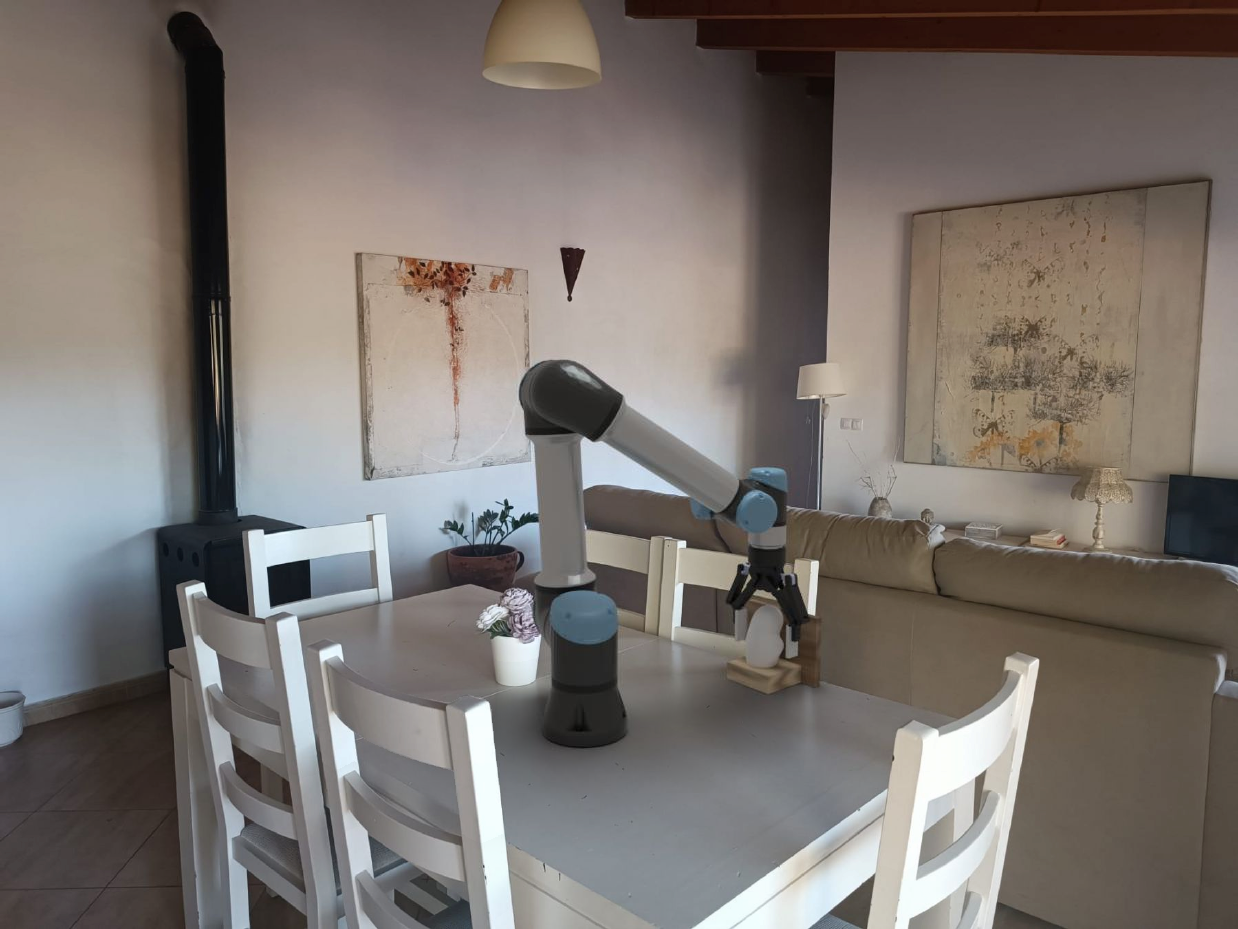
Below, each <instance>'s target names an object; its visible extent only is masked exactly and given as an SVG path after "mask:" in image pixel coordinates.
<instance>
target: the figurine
mask: <svg viewBox="0 0 1238 929" xmlns="http://www.w3.org/2000/svg"><path fill="white" fill-rule="evenodd" d="M782 626H783V615H782V613H781V611H780V610H779V609H778V608H777V607H775V606H773V605H764V606H761V607H760V608H759V609H758V610H756V612H755V613H754V615H753V617H752V620H751V622H750V626H749V629H748V628H747V631H746V639H745V640H744V642H745V644H744V649H745V650H744V652H745V656H746V661H747V664H748V665H750V666H753V667H757V668H770V667H774V666H775V665H776V664H777V662H778V659H779V656H780V654H781V652H782V650H783V647H784V643H783V641H782V639H781V638H780V631H781V628H782Z"/></svg>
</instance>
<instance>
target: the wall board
mask: <svg viewBox="0 0 1238 929" xmlns="http://www.w3.org/2000/svg"><path fill="white" fill-rule="evenodd" d="M747 604H748V605H747V607H748V609H747V615H748V616H747V617H748V618H747V630H748V629H749V626H750V622H751V620H752V617H753V615H754V613H755V612H756V610H758V609H759V608H760V607H761V606H764V605H773V606H775V607H777V608H778V609H779V610H780V611H781V613H782V615H783V626H782V628H781V631H780V638H781V639H782V641H783V643H784V647H783V650H782V652H781V654H780V656H779V659H778V662H777V664H776V665H775V666H774V667H770V668H757V667H753V666H750V665H748V664H747V661H746V655H745V656H743V657H739V658H736V659H733V660H730V661H727V663H726V679H727V680H729V681H732V682H734V683H738V684H740V685H743V686H746V687H748V688H751V689H753V690H756V691H759V692H762V693H764V694H767V695H770V694H773V693H775V692H778V691H782V690H783V689H786V688H790V687H792V686H795V685H797V683H798V684H805V685H807V686H810V687H814V688H817V687H820V684H821V653H822V652H821V650H822V648H821V647H822V644H821V643H822V617H821V616H818V615H814V614H809V613H808V615H809V618H810V622H809V623H806V624H803V625H801V639H800V641H798V656H795V657H792V658H786V625H789V624H790V623H789V621H788V620H787V618H786V616H785V614H784V612H783V611H782V609H781V607H780V605H777V604H773V603H771V602H770V603H769V602H766V601H761V600H759V599H755V598H750V599H749V600H748V601H747Z"/></svg>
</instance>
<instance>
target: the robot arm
mask: <svg viewBox="0 0 1238 929" xmlns="http://www.w3.org/2000/svg"><path fill="white" fill-rule="evenodd" d="M518 386H519V387H518V401H519V405H520V407H521V409H522V411H523V420H524V421H523V422H524V434H525V435H524V436H525V437H526V438H527V439H528V440H530V441H531V442H532V443H533V447H534V448H533V449H534V450H533V451H534V464H535V465H534V467H535V480H536V496H537V498H536V500H537V513H538V515H537V516H538V517H537V518H538V531H539V548H540V549H539V550H540V560H541V561H540V563H541V565H540V566H541V570H540V572H539V573H538V574H537V575H536V577H535V578H534V580H533V582H534V595H535V596H534V598H533V602H532V610H531V611H532V613H531V615H532V620H533V623H534V626H535V628H536V630H537V631H538V633H539V635H541V637H542V638H543V640H544V641H545V643H546V644H547V645H548V647H549V649H550V677H551V679H550V682H551V686H550V691H549V695H548V698H547V699H546V700H547V701H546V704H545V706H544V707H545V708H544V711H543V713H542V716H541V732H542V735H543V736H544V737H545V738H546V739H548V740H549V741H551V742H553V743H555V744H559V745H561V746H562V745H563V746H568V747H575V748H576V747H577V748H579V747H580V748H588V747H589V748H590V747H598V746H604V745H608V744H611V743H614V742H616V741H618V740H620V739H621V738H623V737H624V736H626V734H627V733H628V729H629V726H628V725H629V724H628V721H629V718H628V712H627V711H626V707H625V704H624V701H623V697H622V695H621V692H620V690H619V683H618V682H619V681H618V680H619V678H618V676H619V674H618V673H619V671H618V668H619V665H618V664H619V663H618V662H619V661H618V659H619V658H618V657H619V655H618V654H619V651H618V649H619V648H618V647H619V642H618V640H619V639H618V638H619V634H618V633H619V630H618V629H619V623H620V622H619V615H618V607H617V605H616V602H615V601H614V600H613V599H612V598H611V597H609V596H608V595H606V594H604V593H598V592H597V576H596V573H595V572H593V570H591V569H590V568H589V567H588V559H587V557H588V556H587V541H586V540H587V538H586V521H585V519H586V518H585V504H584V503H585V502H584V487H583V486H584V484H583V483H584V482H583V464H582V447H581V442H582V441H583V439H584V438H586V439H588V440H589V441H591V442H592V443H598V442H603V443H604V444H606V445H608V446H609V447H611V448H612V449H613V450H616V451H617V452H618V453H620V454H622V455H623V456H625V457H626V458H628V459H630V460H631V461H632V462H635V463H636V464H638V465H639V466H641V467H642V468H644V469H646V470H647V471H649V472H650V473H652V474H654V475H655V476H656V477H658V478H660V479H662V480H663V481H665V483H668V484H670V485H671V486H673V487H674V488H676V489H677V490H679V491H680V492H682V493H684V494H686V496H689V503H690V510H691V512H692V515H693V516H694V518H696V519H698V520H708V521H711V520H720V521H722V522H725V523H727V524H729V525H732V526H735V527H737V528H738V529H741V530H743V531H744V532H746V533H748V536H747V543H748V544H749V545H748V546H747V562H743V563H738V565H737V567H736V569H737V570H736V575H735V577H734V579H733V582H732V584H731V586H730V589H729V592H728V593H727V596H726V598H725V601H724V602H725V604H726V605H729V606H731V609H732V622H733V624H734V642H741V641H746V636H747V625H748V618H747V617H748V616H747V615H748V609H747V608H745V607H746V604H748V600H751V599H752V596H754V595H755V593H756V592H757V591H764V592H765V593H768V594H771V596H772V597H774V598H775V599H776V601H777V603H778V604H779V605H778V606H780V607H781V609H782V611H783V612H784V614H785V616H786V618H787V620H788V621H789V623H790V624H789V625H786V658H792V657H795V656H798V641H800V639H801V625H803V624H806V623H809V622H810V618H809V615H808V614H809V613H808V610H807V606H806V603H805V601H804V598H803V596H802V592H801V588H800V587H799V580H798V579H799V578H798V575H797V573H796V572H794V573H785V570H784V569H785V568H784V567H785V565H786V563H787V548H786V546H785V545H786V544H787V514H788V513H787V512H788V510H787V509H788V507H787V506H788V493H789V489H788V475H787V473H786V471H785V470H784V469H782V468H778V467H753V468H751V469H750V470H749V472H748V477H747V478H744V479H740V478H739V477H737V476H736V475H734V474H733V473H731V472H730V471H729V470H727V469H726V468H724V467H723V466H720V465H719V464H718V463H716V462H714V461H713V460H711V459H710V458H708V456H706V455H704V454H703V453H701V452H699V451H698V450H697V449H695V448H694V447H692V446H690V445H689V444H687V443H686V442H684V441H682V440H681V439H679V438H678V437H677V436H675V435H674V434H672V433H671V432H669V431H667V430H666V429H665V428H663V427H662V426H660V425H659V424H657V423H656V422H654V421H652V420H651V419H649V417H646V416H645V415H644V414H642V413H640V412H639V411H637V410H635V409H634V408H633V407H631V406H629V405H628V404H627V403H626V400H625V395H624V394H622V393H621V392H619V391H618V390H616V389H615V388H613V387H612V386H611V385H609V384H608V383H607V382H605V380H603V379H602V378H600V377H599V376H598V375H596V374H595V373H594V372H592V371H591V370H590V369H588V368H587V367H586V366H584V365H583V364H581V363H579V362H578V361H575V360H570V359H546V360H542V361H539V362H537V363H535V364H534V365H533V366H531V367H530V368H529V369H528V370H527V371H526V372H525V373H524V375H523V376H522V378H521V380H520V383H519V385H518ZM749 577H750V579H749V581H748V582H747V580H748V578H749ZM746 582H747V583H746ZM744 586H745V587H744Z"/></svg>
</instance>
